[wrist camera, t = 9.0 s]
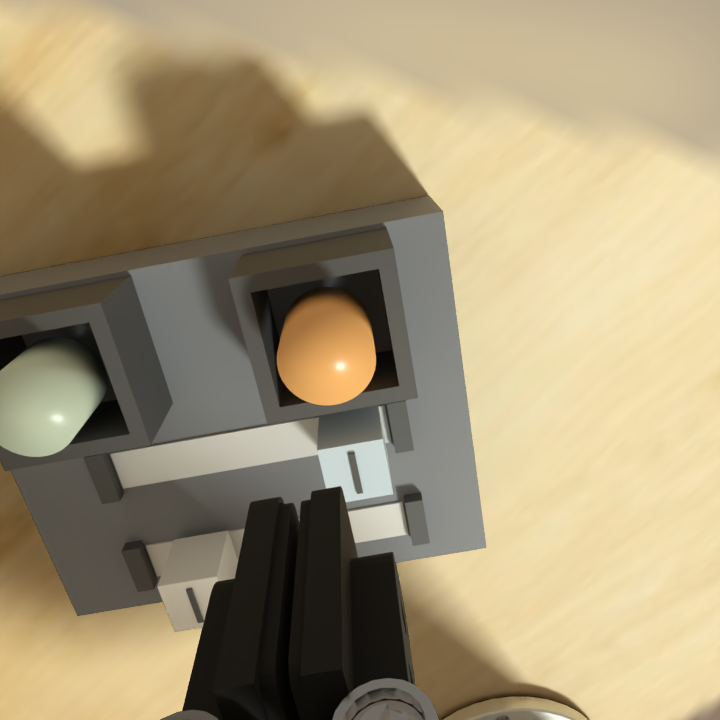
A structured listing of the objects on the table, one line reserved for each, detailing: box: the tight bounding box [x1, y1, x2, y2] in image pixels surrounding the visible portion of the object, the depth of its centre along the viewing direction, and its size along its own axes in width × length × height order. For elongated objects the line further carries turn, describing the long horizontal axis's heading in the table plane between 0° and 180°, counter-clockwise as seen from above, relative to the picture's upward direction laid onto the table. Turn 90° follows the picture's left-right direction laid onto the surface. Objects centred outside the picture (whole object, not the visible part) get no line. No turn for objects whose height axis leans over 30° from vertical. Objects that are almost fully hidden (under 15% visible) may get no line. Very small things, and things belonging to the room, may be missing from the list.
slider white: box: [157, 530, 238, 632], centre depth 28 cm, size 2×2×3 cm
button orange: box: [277, 287, 376, 405], centre depth 22 cm, size 3×3×3 cm
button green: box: [0, 337, 107, 457], centre depth 23 cm, size 3×3×3 cm
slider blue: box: [317, 405, 393, 502], centre depth 26 cm, size 2×2×3 cm
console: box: [0, 196, 486, 616], centre depth 28 cm, size 16×20×8 cm
